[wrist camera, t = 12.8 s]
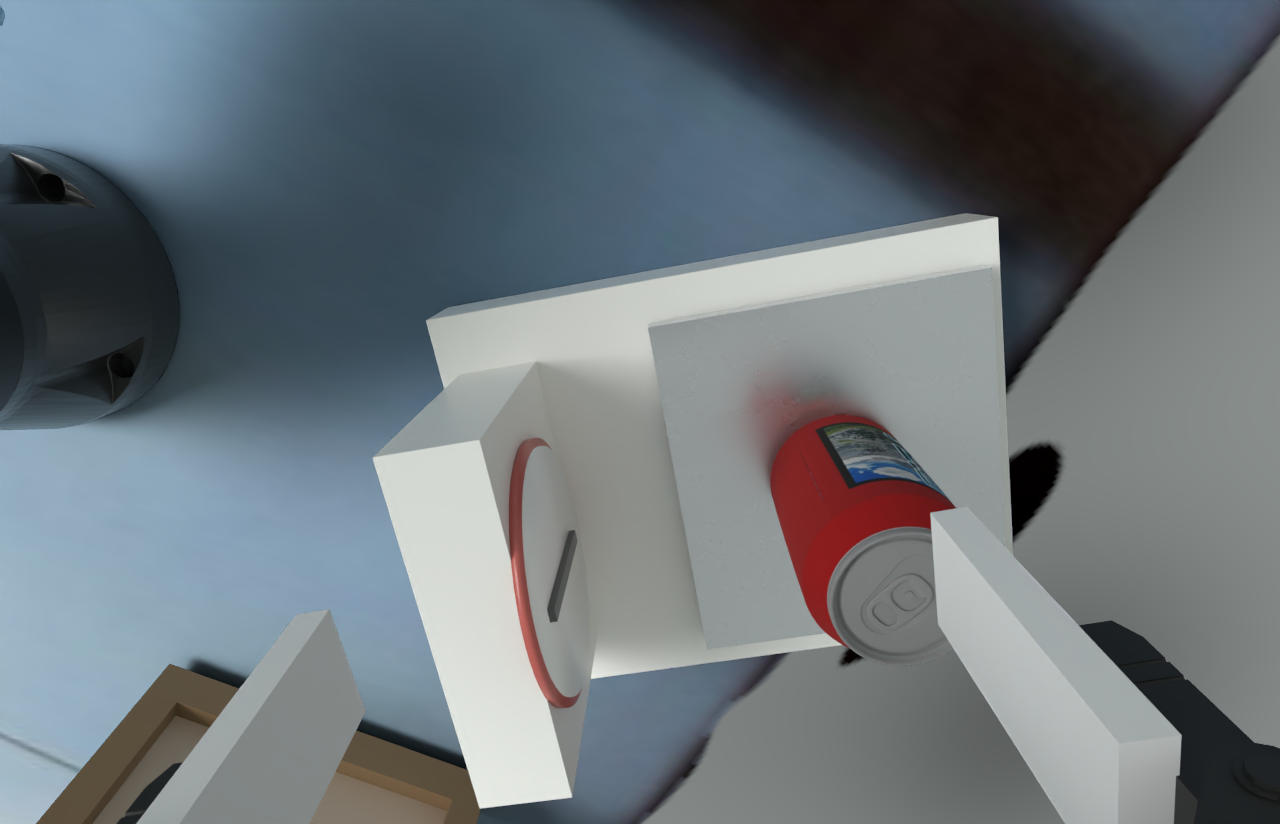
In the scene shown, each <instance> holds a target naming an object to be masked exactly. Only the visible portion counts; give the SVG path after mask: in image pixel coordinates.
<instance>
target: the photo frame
mask: <svg viewBox="0 0 1280 824" xmlns="http://www.w3.org/2000/svg"><path fill="white" fill-rule="evenodd" d="M238 690H239V688H236V687H233V686H231V685H228V684H225V683H222V682H219V681H217V680H214V679H211V678H208V677H205V676H203V675H200V674H197V673H194V672H191V671H189V670H186V669H183V668H180V667H177V666H175V665H172V664H169V665H168V666H167V668H166V669H165V670H164V671H163V672H162V674H161V675H160V676H159V677H158V678H157V680H156V681H155V682H154V683H153V684H152V686H151V687H150V688H149V689H148V690H147V692H146V693H145V694H144V695H143V696H142V698H141V699H140V700H139V701H138V702H137V704H136V705H135V706H134V707H133V708H132V710H131V711H130V712H129V713H128V714H127V716H126V717H125V718H124V719H123V720H122V721H121V723H120V724H119V725H118V726H117V727H116V729H115V730H114V731H113V732H112V733H111V735H110V736H109V737H108V738H107V739H106V741H105V742H104V743H103V744H102V745H101V747H100V748H99V749H98V750H97V751H96V753H95V754H94V755H93V756H92V757H91V759H90V760H89V761H88V762H87V763H86V765H85V766H84V767H83V768H82V769H81V771H80V772H79V773H78V774H77V775H76V777H75V778H74V779H73V780H72V781H71V783H70V784H69V785H68V786H67V787H66V789H65V790H64V791H63V792H62V793H61V795H60V796H59V797H58V798H57V799H56V800H55V802H54V803H53V804H52V805H51V806H50V808H49V809H48V810H47V811H46V812H45V814H44V815H43V816H42V817H41V818H40V820H39V821H38V822H37V823H36V824H117V822H118V821H119V820H120V819H121V818H123V817H125V812H126V811H127V810H128V809H129V807H130V806H131V805H132V804H133V802H134V801H135V800H136V798H137V797H138V796H139V795H140V793H141V792H142V791H143V790H144V788H145V787H146V786H148V785H149V784H150V783H151V782H152V781H154V780H155V779H156V778H157V777H158V776H159V775H161V774H162V773H163V772H164V771H165V770H167V769H168V768H169V767H170V766H171V765H173V764H174V763H181V762H184V761H185V759H186V758H187V757H188V755H189V754H190V753H191V751H192V750H193V749H194V748H195V746H196V745H197V744H198V742H199V741H200V740H201V738H202V737H203V736H204V734H205V733H206V732H207V731H208V729H209V728H210V727H211V725H212V724H213V723H214V721H215V720H216V719H217V717H218V716H219V715H220V713H221V712H222V711H223V710H224V708H225V707H226V706H227V704H228V703H229V702H230V700H231V699H232V698H233V696H234V695H235V694H236V693H237V691H238ZM480 811H481V809H480V808H479V805H478V802H477V798H476V795H475V792H474V789H473V785H472V782H471V779H470V775H469V772H468V770H466V769H463V768H460V767H457V766H455V765H452V764H449V763H446V762H443V761H441V760H438V759H435V758H432V757H429V756H427V755H424V754H421V753H418V752H415V751H413V750H410V749H407V748H404V747H401V746H399V745H396V744H393V743H390V742H387V741H385V740H382V739H379V738H376V737H373V736H371V735H368V734H365V733H362V732H359V731H357V730H356V732H355V734H354V736H353V738H352V740H351V742H350V744H349V746H348V748H347V750H346V752H345V754H344V756H343V758H342V760H341V762H340V764H339V766H338V768H337V770H336V772H335V774H334V776H333V778H332V780H331V782H330V784H329V786H328V788H327V789H326V791H325V793H324V795H323V797H322V799H321V801H320V803H319V805H318V807H317V809H316V811H315V813H314V815H313V817H312V819H311V821H310V823H309V824H476V823H477V820H478V817H479V814H480Z"/></svg>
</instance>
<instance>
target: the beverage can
mask: <svg viewBox="0 0 1280 824" xmlns="http://www.w3.org/2000/svg"><path fill="white" fill-rule="evenodd" d="M770 487H771V494H772V498H773V501H774V505H775V509H776V512H777V516H778V519H779V522H780V526H781V529H782V532H783V535H784V539H785V542H786V545H787V548H788V551H789V555H790V558H791V561H792V564H793V567H794V570H795V573H796V576H797V579H798V582H799V585H800V588H801V591H802V594H803V597H804V600H805V603H806V605H807V608H808V610H809V612H810V614H811V616H812V617H813V619H814V620H815V622H816V623H817V624H818V625H819V627H820V628H821V629H822V630H823V631H824V632H825V633H827V634H828V635H829V636H830V637H831V638H833V639H834V640H836V641H837V642H839V643H840V644H842V645H844V646H846V647H848V648H850V649H852V650H853V651H854V652H856V653H857V654H858V655H860V656H862V657H864V658H866V659H868V660H870V661H874V662H876V663H880V664H884V665H891V666H912V665H918V664H922V663H926V662H929V661H932V660H935V659H937V658H939V657H941V656H943V655H945V654H947V653H949V652H950V651H952V650H953V647H952V645H951V644H950V642H949V641H948V639H947V638H946V636H945V634H944V633H943V631H942V630H941V628H940V627H939V625H938V617H937V603H936V588H935V574H934V560H933V545H932V531H931V516H930V513H931V512H937V511H943V510H950V509H956V507H955V506H954V504H953V503H952V502H951V501H950V500H949V498H948V497H947V496H946V495H945V494H944V492H943V491H942V490H941V489H940V488H939V487H938V486H937V484H936V483H935V482H934V481H933V480H932V479H931V478H930V476H929V475H928V474H927V473H926V472H925V471H924V469H923V468H922V467H921V466H920V465H919V464H918V463H917V461H916V460H915V459H914V458H913V457H912V456H911V455H910V454H909V453H908V451H907V450H906V449H905V448H904V447H903V446H902V445H901V444H900V443H899V442H898V441H897V439H896V438H895V437H894V436H893V435H892V434H891V433H890V432H889V431H888V430H886V429H885V428H884V427H882V426H881V425H879V424H877V423H875V422H873V421H871V420H869V419H866V418H862V417H858V416H852V415H834V416H828V417H824V418H820V419H817V420H815V421H812V422H810V423H808V424H806V425H805V426H803V427H801V428H800V429H799V430H797V431H796V432H795V433H794V434H792V435H791V436H790V437H789V438H788V439H787V441H786V442H785V443H784V444H783V446H782V447H781V449H780V450H779V452H778V454H777V456H776V458H775V460H774V463H773V466H772V471H771V478H770Z"/></svg>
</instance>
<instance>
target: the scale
mask: <svg viewBox="0 0 1280 824" xmlns="http://www.w3.org/2000/svg"><path fill="white" fill-rule="evenodd" d="M976 265H985V266H989V267H992V277H993V297H994V318H995V339H996V359H997V380H998V401H999V421H1000V442H1001V463H1002V483H1003V504H1004V525H1005V545H1006V549H1007V550H1008V551H1009V552H1010V553H1011V554H1012V555H1013V540H1012V518H1011V496H1010V474H1009V453H1008V430H1007V408H1006V386H1005V364H1004V342H1003V320H1002V297H1001V275H1000V253H999V231H998V217H993V216H985V215H977V214H969V213H964V214H959V215H953V216H948V217H942V218H937V219H931V220H925V221H920V222H914V223H909V224H903V225H898V226H892V227H887V228H881V229H876V230H870V231H865V232H859V233H854V234H848V235H843V236H837V237H832V238H826V239H821V240H815V241H810V242H804V243H799V244H793V245H788V246H782V247H777V248H771V249H766V250H760V251H755V252H749V253H744V254H738V255H733V256H727V257H722V258H716V259H711V260H705V261H700V262H694V263H689V264H683V265H678V266H672V267H667V268H661V269H656V270H650V271H645V272H639V273H634V274H628V275H623V276H617V277H612V278H606V279H601V280H595V281H590V282H584V283H579V284H573V285H568V286H562V287H557V288H551V289H546V290H540V291H535V292H529V293H524V294H518V295H513V296H507V297H502V298H496V299H491V300H485V301H480V302H474V303H469V304H463V305H458V306H452V307H448V308H446V309H444V310H443V311H441V312H439V313H438V314H436V315H434V316H433V317H431V318H429V319H427V320H426V323H427V327H428V331H429V334H430V338H431V342H432V346H433V349H434V353H435V357H436V360H437V364H438V368H439V372H440V375H441V379H442V383H443V386H444V390H443V391H442V392H441V393H440V394H439V395H438V396H437V397H436V398H434V399H433V400H432V401H431V402H430V403H429V404H428V405H427V406H426V407H425V408H424V409H423V410H422V411H421V412H420V413H419V414H418V415H417V416H416V417H414V418H413V419H412V420H411V421H410V422H409V423H408V424H407V425H406V426H405V427H404V428H403V429H402V430H401V431H400V432H399V433H398V434H397V435H396V436H394V437H393V438H392V439H391V440H390V441H389V442H388V443H387V444H386V445H385V446H384V447H383V448H382V449H381V450H380V451H379V452H378V453H377V454H376V455H374V456H373V457H372V458H373V461H374V464H375V468H376V471H377V474H378V478H379V481H380V484H381V487H382V491H383V494H384V497H385V500H386V504H387V507H388V510H389V514H390V517H391V520H392V523H393V527H394V530H395V533H396V536H397V540H398V543H399V546H400V550H401V553H402V556H403V559H404V563H405V566H406V569H407V572H408V576H409V579H410V582H411V586H412V589H413V592H414V595H415V599H416V602H417V605H418V609H419V612H420V615H421V618H422V622H423V625H424V628H425V631H426V635H427V638H428V641H429V645H430V648H431V651H432V654H433V658H434V661H435V664H436V667H437V671H438V674H439V677H440V681H441V684H442V687H443V690H444V694H445V697H446V700H447V703H448V707H449V710H450V713H451V717H452V720H453V723H454V726H455V730H456V733H457V736H458V739H459V743H460V746H461V749H462V753H463V756H464V759H465V762H466V766H467V769H468V772H469V775H470V779H471V782H472V785H473V789H474V792H475V795H476V798H477V802H478V805H479V808H480V809H481V808H489V807H497V806H506V805H514V804H522V803H530V802H539V801H547V800H555V799H563V798H572V796H573V790H574V783H575V777H576V770H577V764H578V757H579V751H580V744H581V738H582V732H583V725H584V719H585V712H586V706H587V699H588V693H589V687H590V680H591V679H593V678H600V677H608V676H615V675H623V674H630V673H637V672H645V671H652V670H660V669H667V668H675V667H682V666H689V665H697V664H704V663H712V662H719V661H727V660H734V659H741V658H749V657H756V656H764V655H771V654H779V653H786V652H793V651H800V650H808V649H816V648H823V647H830V646H838V645H842V644H840V643H839V642H837V641H836V640H834V639H833V638H831V637H830V636H829V635H828V634H827V633H825V634H818V635H810V636H803V637H796V638H788V639H781V640H774V641H766V642H759V643H752V644H744V645H737V646H730V647H722V648H715V649H708V650H707V648H706V642H705V637H704V631H703V626H702V620H701V615H700V610H699V604H698V599H697V593H696V588H695V582H694V577H693V571H692V566H691V560H690V555H689V549H688V544H687V539H686V533H685V528H684V522H683V517H682V511H681V506H680V500H679V495H678V489H677V484H676V478H675V473H674V468H673V462H672V457H671V451H670V446H669V440H668V435H667V429H666V424H665V418H664V413H663V407H662V402H661V397H660V391H659V386H658V380H657V375H656V369H655V364H654V358H653V353H652V347H651V342H650V336H649V331H648V323H651V322H657V321H663V320H668V319H674V318H680V317H685V316H691V315H697V314H703V313H708V312H714V311H720V310H725V309H731V308H737V307H742V306H748V305H754V304H760V303H765V302H771V301H777V300H782V299H788V298H794V297H799V296H805V295H811V294H816V293H822V292H828V291H834V290H839V289H845V288H851V287H856V286H862V285H868V284H873V283H879V282H885V281H890V280H896V279H902V278H908V277H913V276H919V275H925V274H930V273H936V272H942V271H947V270H953V269H959V268H965V267H970V266H976Z"/></svg>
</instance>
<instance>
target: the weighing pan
mask: <svg viewBox="0 0 1280 824" xmlns="http://www.w3.org/2000/svg"><path fill="white" fill-rule="evenodd" d="M648 331H649V336H650V342H651V347H652V353H653V358H654V364H655V369H656V375H657V380H658V386H659V391H660V397H661V402H662V407H663V413H664V418H665V424H666V429H667V435H668V440H669V446H670V451H671V457H672V462H673V468H674V473H675V478H676V484H677V489H678V495H679V500H680V506H681V511H682V517H683V522H684V528H685V533H686V539H687V544H688V549H689V555H690V560H691V566H692V571H693V577H694V582H695V588H696V593H697V599H698V604H699V610H700V615H701V620H702V626H703V631H704V637H705V642H706V648H707V650H708V649H715V648H722V647H730V646H737V645H744V644H752V643H759V642H766V641H774V640H781V639H788V638H796V637H803V636H810V635H818V634H825V632H824V631H823V630H822V629H821V628H820V627H819V625H818V624H817V623H816V622H815V620H814V619H813V617H812V616H811V614H810V612H809V610H808V608H807V605H806V603H805V600H804V597H803V594H802V591H801V588H800V585H799V582H798V579H797V576H796V573H795V570H794V567H793V564H792V561H791V558H790V555H789V551H788V548H787V545H786V542H785V539H784V535H783V532H782V529H781V526H780V522H779V519H778V516H777V512H776V509H775V505H774V501H773V498H772V494H771V487H770V478H771V471H772V466H773V463H774V460H775V458H776V456H777V454H778V452H779V450H780V449H781V447H782V446H783V444H784V443H785V442H786V441H787V439H788V438H789V437H790V436H791V435H792V434H794V433H795V432H796V431H797V430H799V429H800V428H801V427H803V426H805V425H806V424H808V423H810V422H812V421H815V420H817V419H820V418H824V417H828V416H834V415H852V416H858V417H862V418H866V419H869V420H871V421H873V422H875V423H877V424H879V425H881V426H882V427H884V428H885V429H886V430H888V431H889V432H890V433H891V434H892V435H893V436H894V437H895V438H896V439H897V441H898V442H899V443H900V444H901V445H902V446H903V447H904V448H905V449H906V450H907V451H908V453H909V454H910V455H911V456H912V457H913V458H914V459H915V460H916V461H917V463H918V464H919V465H920V466H921V467H922V468H923V469H924V471H925V472H926V473H927V474H928V475H929V476H930V478H931V479H932V480H933V481H934V482H935V483H936V484H937V486H938V487H939V488H940V489H941V490H942V491H943V492H944V494H945V495H946V496H947V497H948V498H949V500H950V501H951V502H952V503H953V504H954V506H955V507H956V508H962V507H968V508H969V509H970V510H971V511H972V512H973V513H974V515H975V516H976V517H977V518H978V519H979V520H980V521H981V522H982V523H983V524H984V525H985V526H986V527H987V528H988V529H989V530H990V532H991V533H992V534H993V535H994V536H995V537H996V538H997V539H998V540H999V541H1000V542H1001V543H1002V544H1003V545H1004V546H1005V548H1006V545H1005V525H1004V504H1003V483H1002V463H1001V442H1000V421H999V401H998V380H997V359H996V339H995V318H994V297H993V277H992V267H989V266H985V265H976V266H970V267H965V268H959V269H953V270H947V271H942V272H936V273H930V274H925V275H919V276H913V277H908V278H902V279H896V280H890V281H885V282H879V283H873V284H868V285H862V286H856V287H851V288H845V289H839V290H834V291H828V292H822V293H816V294H811V295H805V296H799V297H794V298H788V299H782V300H777V301H771V302H765V303H760V304H754V305H748V306H742V307H737V308H731V309H725V310H720V311H714V312H708V313H703V314H697V315H691V316H685V317H680V318H674V319H668V320H663V321H657V322H651V323H648Z"/></svg>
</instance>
